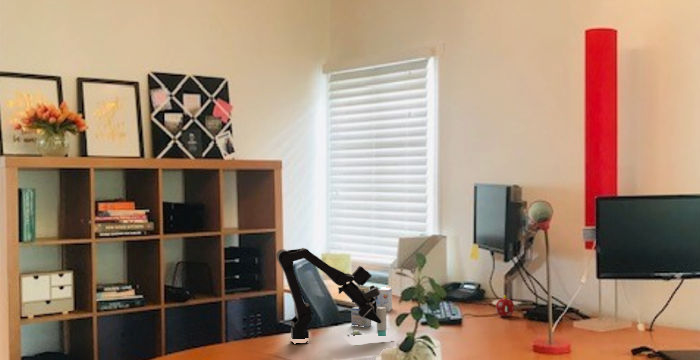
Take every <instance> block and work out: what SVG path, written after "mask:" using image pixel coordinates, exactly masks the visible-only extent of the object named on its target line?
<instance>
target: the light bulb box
mask: <svg viewBox="0 0 700 360" xmlns="http://www.w3.org/2000/svg"><path fill="white" fill-rule="evenodd" d="M377 287H378V288H379V291H380V295H378V296H375V298H376V300H377V307H385V308H386V312H391V310H392V309H393V288H392V287H391V286H389V287H388V286H387V287H385V286H377ZM368 290H370V287H369V288H368ZM368 290H367V291H368ZM376 300H375V301H376ZM375 301H373V302H375Z"/></svg>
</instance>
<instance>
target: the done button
mask: <svg viewBox="0 0 700 360" xmlns="http://www.w3.org/2000/svg"><path fill="white" fill-rule="evenodd" d="M359 332H360V330H357V329H355V330H352V333H353V335H359Z"/></svg>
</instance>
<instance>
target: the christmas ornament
mask: <svg viewBox="0 0 700 360" xmlns="http://www.w3.org/2000/svg"><path fill="white" fill-rule="evenodd" d="M495 303H496V304H495V311H496V313H497V314H498V315H499V316H501V317H504V318H507V317H509V316H512V315H513V313H514V311H515V309H516V308H515V303H514V302H513V301H512V300H511V299H510V298H508V297H507V296H506V294H504V295H503V298H500V299H499V300H498V301H496V302H495Z"/></svg>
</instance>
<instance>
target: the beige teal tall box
mask: <svg viewBox="0 0 700 360" xmlns="http://www.w3.org/2000/svg"><path fill="white" fill-rule="evenodd" d="M376 311H377V316H378V317H379V319H380V320H381V321H382V322H381V323H380V324H379V323H377V322H376V330H377V331H376V332H378V336H386V331H387V311H386V308H385V307H378V308H376Z"/></svg>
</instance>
